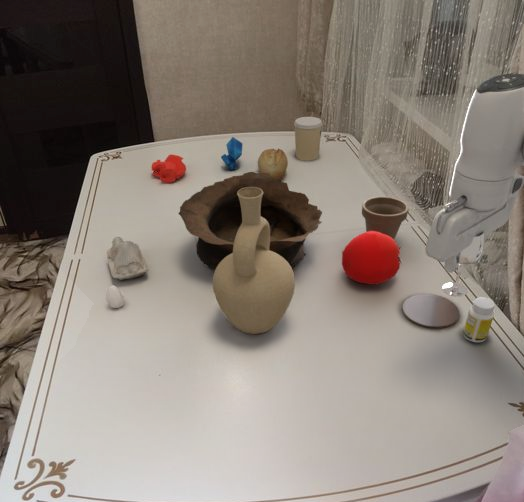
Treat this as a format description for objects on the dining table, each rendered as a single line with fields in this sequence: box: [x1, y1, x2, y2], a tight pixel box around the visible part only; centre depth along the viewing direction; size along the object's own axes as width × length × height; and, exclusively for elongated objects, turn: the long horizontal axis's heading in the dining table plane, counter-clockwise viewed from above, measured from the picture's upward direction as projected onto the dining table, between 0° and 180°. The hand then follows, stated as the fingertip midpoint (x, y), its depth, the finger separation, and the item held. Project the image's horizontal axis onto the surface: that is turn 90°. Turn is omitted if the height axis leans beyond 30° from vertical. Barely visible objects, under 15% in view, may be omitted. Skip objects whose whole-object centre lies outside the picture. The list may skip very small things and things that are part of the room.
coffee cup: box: [293, 116, 323, 162], centre depth 185 cm, size 9×9×12 cm
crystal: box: [220, 136, 243, 171], centre depth 181 cm, size 7×9×12 cm
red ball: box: [341, 231, 403, 285], centre depth 126 cm, size 13×13×13 cm
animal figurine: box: [150, 153, 187, 183], centre depth 178 cm, size 12×15×5 cm
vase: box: [212, 187, 296, 335], centre depth 108 cm, size 17×17×30 cm
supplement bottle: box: [462, 296, 496, 343], centre depth 110 cm, size 5×5×8 cm
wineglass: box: [441, 231, 485, 298], centre depth 95 cm, size 6×6×12 cm
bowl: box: [178, 171, 323, 271], centre depth 136 cm, size 34×33×15 cm
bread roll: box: [257, 148, 289, 181], centre depth 175 cm, size 10×15×8 cm, turn 3°
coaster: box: [401, 293, 460, 330], centre depth 119 cm, size 12×12×1 cm
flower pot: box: [361, 196, 410, 240], centre depth 140 cm, size 12×11×10 cm
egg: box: [105, 284, 126, 309], centre depth 122 cm, size 4×4×6 cm
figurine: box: [106, 236, 149, 281], centre depth 132 cm, size 15×11×8 cm
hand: (461, 262), depth 95 cm, fingers closed on wineglass, 5 cm apart
